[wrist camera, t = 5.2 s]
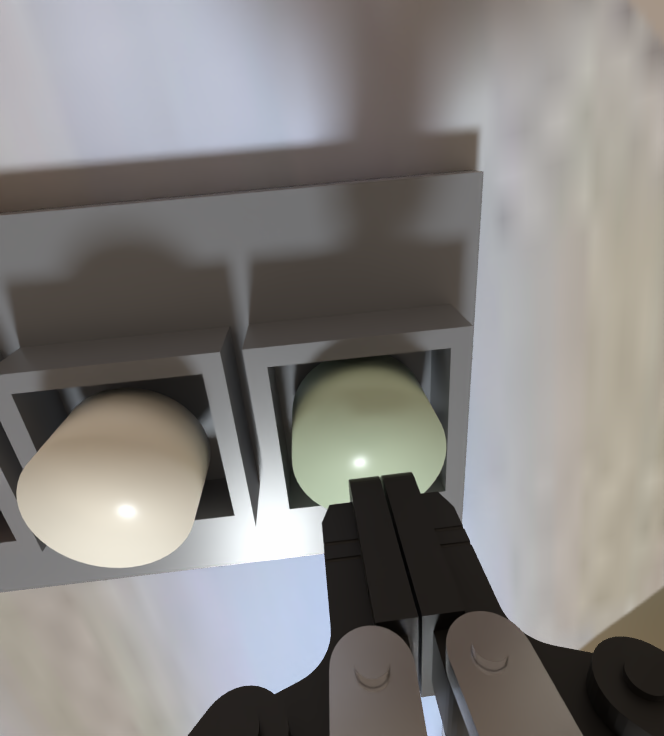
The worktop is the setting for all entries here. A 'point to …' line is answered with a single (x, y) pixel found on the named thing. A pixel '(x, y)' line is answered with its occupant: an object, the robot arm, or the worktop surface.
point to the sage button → (362, 427)
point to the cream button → (117, 479)
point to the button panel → (231, 338)
